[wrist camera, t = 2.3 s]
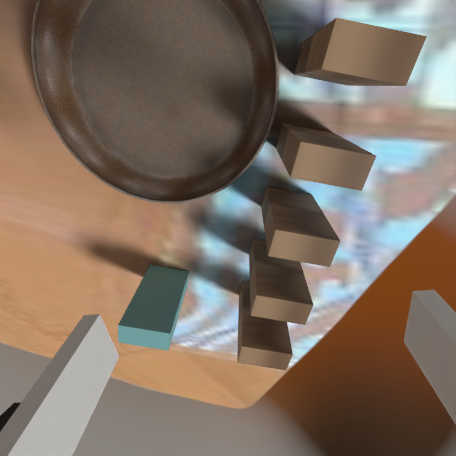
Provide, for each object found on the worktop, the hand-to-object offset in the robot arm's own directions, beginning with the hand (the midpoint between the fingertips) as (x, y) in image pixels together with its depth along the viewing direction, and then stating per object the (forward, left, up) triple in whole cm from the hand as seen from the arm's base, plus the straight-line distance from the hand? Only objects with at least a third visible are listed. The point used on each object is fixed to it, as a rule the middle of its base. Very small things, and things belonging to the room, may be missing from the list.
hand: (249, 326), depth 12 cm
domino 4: (+5, -1, -20) cm, 20 cm away
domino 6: (+5, -14, -20) cm, 25 cm away
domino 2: (+5, +12, -20) cm, 24 cm away
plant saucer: (-9, +7, -20) cm, 24 cm away
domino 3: (+5, +5, -20) cm, 21 cm away
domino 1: (-7, -14, -20) cm, 25 cm away
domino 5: (+5, -8, -20) cm, 22 cm away
